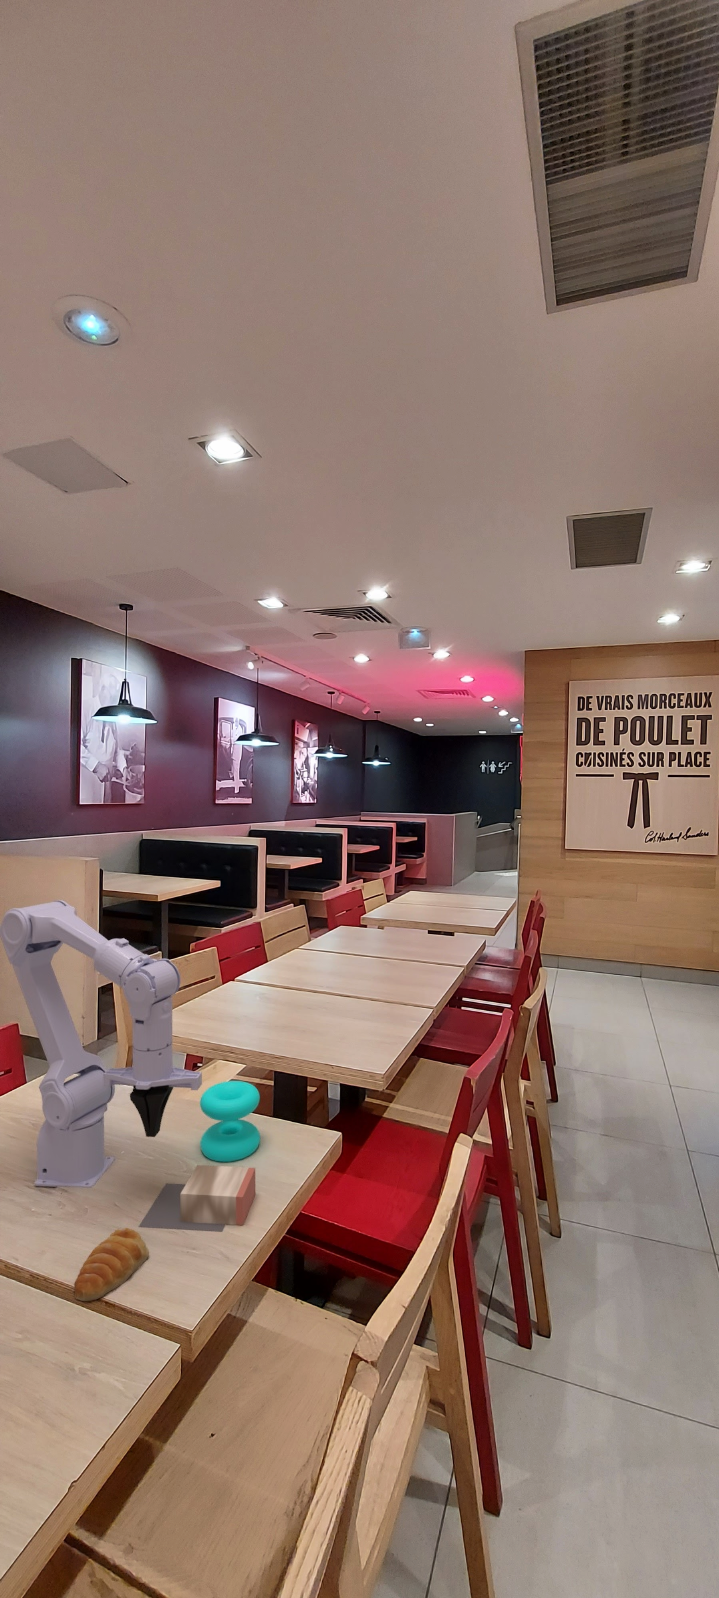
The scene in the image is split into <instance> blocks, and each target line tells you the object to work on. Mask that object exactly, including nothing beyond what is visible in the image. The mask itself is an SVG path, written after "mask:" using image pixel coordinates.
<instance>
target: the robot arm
mask: <svg viewBox="0 0 719 1598" xmlns="http://www.w3.org/2000/svg"><path fill="white" fill-rule="evenodd" d="M0 939H1V943H2V946H3V948H4V951H5V953H6V954H5V955H6V956H7V958H8V962H9V964H10V965H12V969H13V971H14V974H15V977H16V979H17V983H18V984H19V987H20V991H21V993H22V996H23V999H24V1001H25V1004H26V1006H27V1009H28V1012H29V1015H30V1018H31V1020H32V1023H33V1025H34V1028H35V1030H36V1033H37V1036H38V1039H39V1042H40V1044H41V1047H42V1049H43V1052H44V1055H45V1057H46V1060H47V1064H48V1066H49V1068H48V1070H47V1071H46V1073H45V1075H44V1077H43V1079H42V1080H41V1081H40V1084H39V1086H38V1090H39V1093H40V1095H41V1102H42V1105H41V1107H42V1108H41V1109H42V1113H43V1117H44V1118H45V1120H44V1122H43V1123H42V1124H41V1126H40V1128H39V1131H38V1135H37V1140H36V1168H37V1169H36V1175H37V1176H36V1178H37V1179H36V1180H35V1181H34V1186H35V1187H36V1186H37V1187H50V1188H51V1187H53V1188H54V1187H56V1188H57V1187H67V1188H68V1187H69V1188H87V1189H89V1188H93V1187H94V1186H95V1185H96V1184H97V1182H99V1180H100V1178H101V1177H102V1176H103V1175H104V1174H105V1172H106V1171H107V1170H108V1169H109V1167H110V1166H112V1164H113V1163H114V1161H115V1160H116V1158H115V1157H114V1156H105V1113H106V1112H107V1111H108V1104H109V1103H110V1102H111V1101H112V1100H113V1098H114V1095H115V1092H116V1086H117V1085H118V1086H133V1088H132V1090H131V1092H130V1093H129V1098H130V1099H129V1100H130V1101H131V1103H132V1104H133V1105H134V1107H135V1109H136V1111H137V1112H138V1116H140V1118H141V1122H142V1125H143V1129H144V1133H145V1137H146V1138H147V1137H148V1138H155V1137H156V1136H157V1135H158V1133H159V1132H160V1131H161V1125H162V1120H163V1116H164V1112H165V1109H166V1106H167V1104H168V1100H169V1098H170V1097H171V1094H172V1091H173V1090H174V1088H183V1089H185V1088H186V1089H190V1090H191V1091H198V1090H199V1089H200V1088H201V1086H202V1085H203V1079H202V1078H203V1075H202V1074H203V1072H202V1071H193V1070H188V1069H185V1068H181V1067H176V1066H173V996H174V995H176V993H177V992H178V991H179V990H180V987H181V982H182V981H181V973H180V972H179V969H178V967H177V966H176V965H175V964H174V963H173V962H172V961H171V960H170V959H169V958H160V959H156V958H151V956H150V955H149V954H147V953H143V952H142V951H140V950H138V949H137V948H135V947H134V946H132V945H130V944H129V943H130V942H129V940H127V939H125V938H124V937H123V938H112V939H110V940H108V939H107V938H106V937H105V936H103V934H101V933H100V932H98V931H97V930H96V929H94V928H93V927H91V926H90V925H89V924H88V923H87V922H85V921H84V920H83V919H81V918H80V917H79V916H78V914H77V909H76V907H74V906H72V905H70V904H69V903H68V902H66V901H65V900H62V899H56V900H53V901H51V902H45V903H41V904H35V905H29V906H24V907H20V908H19V907H13V908H10V909H9V910H7V911H6V912H5V913H4V915H3V917H2V921H1V923H0ZM63 944H65V945H67V946H68V947H70V948H73V949H74V950H76V951H77V952H79V953H82V954H83V955H85V956H87V957H88V958H90V959H92V960H93V967H94V970H95V971H96V972H98V973H99V974H101V976H103V977H105V978H106V979H108V981H109V980H110V982H112V983H114V984H115V985H116V986H118V987H120V988H121V989H122V991H123V995H124V998H125V1000H126V1002H127V1003H128V1008H129V1015H130V1018H132V1019H131V1020H132V1066H129V1067H118V1068H117V1067H116V1068H114V1067H113V1068H112V1067H109V1068H108V1069H107V1068H106V1066H105V1065H104V1063H103V1061H102V1058H101V1057H100V1056H99V1055H97V1054H95V1053H92V1052H91V1053H90V1052H88V1051H86V1050H84V1047H83V1045H82V1042H81V1038H80V1037H79V1034H78V1031H77V1029H76V1026H75V1024H74V1021H73V1018H72V1016H71V1013H70V1010H69V1007H68V1005H67V1002H66V1000H65V997H64V994H63V992H62V988H61V987H60V984H59V981H58V979H57V976H56V974H55V971H54V969H53V966H52V960H53V958H54V955H55V954H57V953H58V952H59V950H61V947H62V946H63ZM75 1074H79V1075H77V1076H75V1077H73V1078H71V1079H68V1078H69V1077H71V1076H73V1075H75ZM66 1079H68V1080H67V1081H66Z"/></svg>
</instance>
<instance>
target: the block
mask: <svg viewBox="0 0 719 1598" xmlns="http://www.w3.org/2000/svg"><path fill="white" fill-rule="evenodd" d="M185 1184H186V1185H185V1187H184V1189H183V1190H182V1192H181V1194H180V1196H181V1222H194V1223H212V1224H225V1225H231V1226H234V1225H235V1226H244V1225H245V1221H246V1219H247V1216H248V1214H249V1211H250V1209H251V1207H252V1204H253V1201H254V1199H255V1196H256V1167H245V1166H244V1167H243V1166H242V1167H241V1166H227V1165H226V1166H222V1165H203V1164H202V1165H201V1164H197V1165H196V1167H195V1168H194V1170H193V1171H192V1173H191V1175H190V1177H189V1179H188V1180H187V1182H186V1183H185Z"/></svg>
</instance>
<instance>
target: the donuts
mask: <svg viewBox="0 0 719 1598" xmlns="http://www.w3.org/2000/svg"><path fill="white" fill-rule="evenodd" d="M260 1099H261V1097H260V1092H259V1090H258V1089H257V1087H256V1086H255V1085H253V1084H252V1083H249V1082H247V1081H246V1082H245V1081H242V1080H229V1081H223V1082H218V1083H217V1084H214V1085H212V1086H210V1087H208V1088H207V1089H206V1090H205V1091H204V1092H203V1093H202V1094H201V1097H200V1101H199V1107H200V1109H201V1111H202V1113H203V1114H205V1116H207V1117H208V1118H209V1119H212V1120H216V1121H218V1122H217V1123H214V1124H212V1125H211V1126H210V1127H208V1128H207V1129H206V1130H205V1132H204V1133H203V1134H202V1137H201V1140H200V1148H201V1149H200V1150H201V1152H202V1154H203V1155H204V1156H205V1157H207V1158H208V1159H209V1160H211V1161H215V1162H218V1163H219V1162H222V1163H223V1162H224V1163H228V1162H235V1161H240V1160H242V1159H245V1158H247V1157H249V1156H250V1155H252V1154H253V1153H254V1152H255V1151H256V1150H257V1149H258V1147H259V1146H260V1145H259V1144H260V1141H261V1135H260V1134H261V1133H260V1131H259V1129H258V1127H256V1125H254V1124H253V1123H252V1122H251V1121H247V1120H245V1119H243V1118H246V1117H247V1116H249V1115H250V1114H252V1113H253V1112H254V1111H255V1110H256V1109H257V1107H258V1106H259V1103H260Z"/></svg>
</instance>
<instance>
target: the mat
mask: <svg viewBox="0 0 719 1598" xmlns="http://www.w3.org/2000/svg"><path fill="white" fill-rule="evenodd" d="M185 1185H186V1183H169V1182H167V1183H165V1184H164V1185H163V1188H162V1189H161V1190H160V1193H159V1194H158V1195H157V1197H156V1198H155V1200H154V1202H153V1203H152V1205H151V1206H150V1208H149V1210H148V1211H147V1213H146V1214H145V1215H144V1217H143V1219H142V1221H141V1222H140V1224H139V1225H138V1228H147V1229H148V1228H150V1229H167V1230H180V1231H181V1230H182V1231H184V1230H185V1231H199V1232H200V1231H201V1232H216V1233H217V1232H218V1233H223V1231H224V1228H225V1227H226V1224H212V1223H194V1222H181V1196H180V1194H181V1192H182V1190H183V1189H184V1187H185Z"/></svg>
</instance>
